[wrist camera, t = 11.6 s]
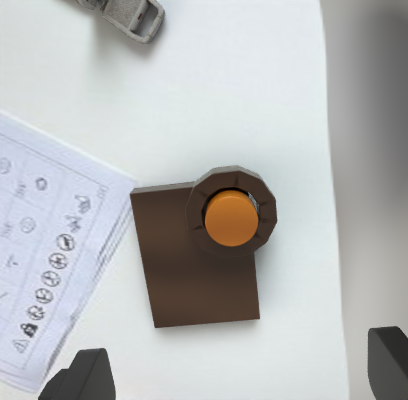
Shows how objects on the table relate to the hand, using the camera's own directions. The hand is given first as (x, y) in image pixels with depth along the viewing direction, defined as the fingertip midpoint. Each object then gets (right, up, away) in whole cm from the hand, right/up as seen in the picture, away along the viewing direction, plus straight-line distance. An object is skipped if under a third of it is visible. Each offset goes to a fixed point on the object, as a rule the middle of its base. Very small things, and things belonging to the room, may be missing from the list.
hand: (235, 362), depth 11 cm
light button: (+1, +4, +15) cm, 15 cm away
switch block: (-1, +1, +19) cm, 19 cm away
